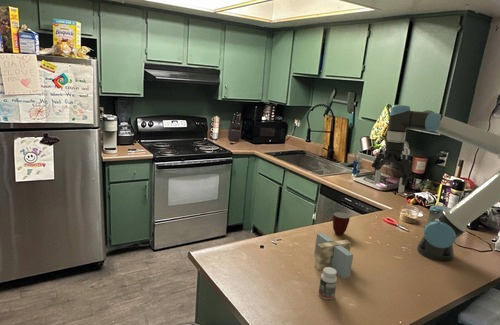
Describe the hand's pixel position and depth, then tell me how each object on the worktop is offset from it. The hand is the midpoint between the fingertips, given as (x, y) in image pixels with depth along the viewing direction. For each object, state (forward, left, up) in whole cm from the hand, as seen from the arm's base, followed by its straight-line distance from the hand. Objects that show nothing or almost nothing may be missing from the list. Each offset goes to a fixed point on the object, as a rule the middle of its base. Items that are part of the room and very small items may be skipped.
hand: (388, 187), depth 156 cm
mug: (+20, -2, -31) cm, 36 cm away
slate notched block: (+11, +30, -30) cm, 44 cm away
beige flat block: (+11, +30, -30) cm, 44 cm away
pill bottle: (+4, +51, -31) cm, 60 cm away
